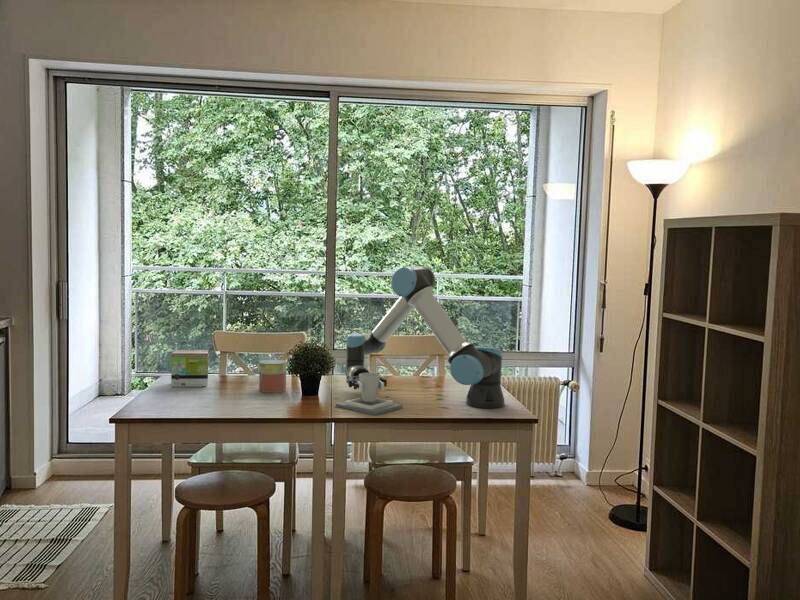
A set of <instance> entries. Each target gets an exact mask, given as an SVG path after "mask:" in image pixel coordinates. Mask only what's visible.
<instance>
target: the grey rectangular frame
mask: <svg viewBox="0 0 800 600" xmlns="http://www.w3.org/2000/svg"><path fill="white" fill-rule="evenodd" d="M336 406H337V408H340V407H342V408H341V409H345V408H346V409H345V410H349V409H351V410H350V411H354V410H356V411H355V412H358V411H359V412H360V413H364V414H369V415H373V416H378V415H382V414H385V413H388V412H389V411H390V412H392V410H393V411H397V410H400V409H403V404H399V403H396V402H395V403H394V400H390V399H384V398H379V397H377V398H376V401H373V402H366V401H363V400H362V396H361V397H358V398H354V399H348V400H344V401H341V402H337V403H335V407H336ZM399 408H400V409H399ZM396 409H397V410H396Z"/></svg>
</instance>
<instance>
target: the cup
mask: <svg viewBox="0 0 800 600" xmlns="http://www.w3.org/2000/svg"><path fill="white" fill-rule="evenodd" d="M380 377H381V374H380V373H376V372H369V373H361V374H359V382H361V383H362V384H363V391H360V390H359V392H360V396H361V397H362V400H363V401H366V402H373V401H376V398H378V395H379V390H380V389H379V385H380Z"/></svg>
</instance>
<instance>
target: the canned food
mask: <svg viewBox="0 0 800 600" xmlns="http://www.w3.org/2000/svg"><path fill="white" fill-rule="evenodd" d="M258 363H259V369H258V371H259V372H258V375H259V376H258V379H259V380H258V382H259V385H258V391H259V392H261V391H262V393H269V392H275V393H281V392H282V391H283V392H285V391H286V390H287V361H286V360H284V359H275V358H274V359H272V358H271V359H262V360H259V362H258Z"/></svg>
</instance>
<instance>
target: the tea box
mask: <svg viewBox="0 0 800 600" xmlns="http://www.w3.org/2000/svg"><path fill="white" fill-rule="evenodd" d="M170 370H171V371H170V372H171V373H170V375H171V376H170V379H171V380H170V381H171V382H170V384H171V385H170V386H171V388H176V387H178V388H183V387H184V388H185V387H188V388H190V387H193V388H195V387H197V388H201V387H202V386H207V387H208V381H209V349H173V350H172V353H171V369H170ZM202 388H203V387H202Z"/></svg>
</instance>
